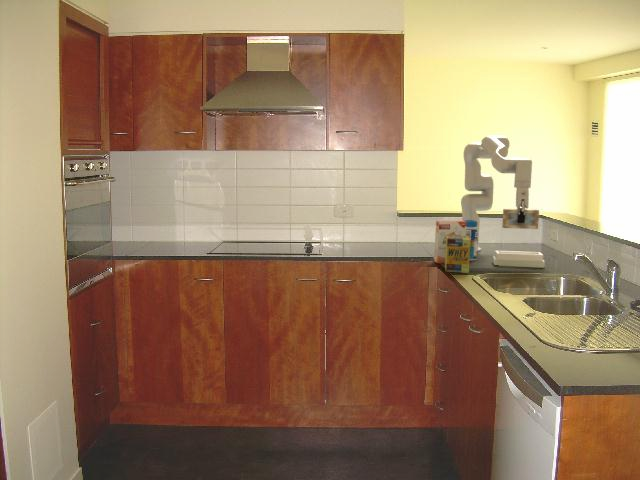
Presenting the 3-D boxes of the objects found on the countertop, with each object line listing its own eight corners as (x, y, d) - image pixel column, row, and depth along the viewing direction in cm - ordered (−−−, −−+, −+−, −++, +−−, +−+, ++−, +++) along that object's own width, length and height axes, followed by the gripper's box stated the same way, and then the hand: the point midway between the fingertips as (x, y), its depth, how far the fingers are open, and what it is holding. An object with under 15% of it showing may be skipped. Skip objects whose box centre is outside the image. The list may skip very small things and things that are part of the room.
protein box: (445, 272, 277) (447, 238, 275) (444, 266, 292) (445, 234, 290) (469, 273, 275) (470, 239, 273) (467, 267, 290) (468, 235, 288)
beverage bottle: (457, 258, 314) (458, 220, 311) (470, 257, 317) (472, 219, 314) (466, 261, 306) (468, 221, 303) (480, 260, 309) (482, 221, 306)
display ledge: (494, 265, 295) (495, 253, 294) (492, 262, 304) (493, 250, 303) (544, 267, 290) (545, 255, 289) (540, 264, 300) (541, 252, 299)
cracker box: (437, 263, 298) (438, 221, 295) (433, 261, 304) (435, 220, 301) (465, 263, 299) (466, 221, 296) (460, 261, 305) (462, 220, 302)
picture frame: (504, 228, 293) (505, 209, 292) (502, 227, 298) (503, 208, 296) (538, 228, 292) (539, 210, 291) (535, 227, 296) (536, 209, 295)
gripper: (533, 185, 283) (530, 224, 285) (528, 183, 299) (525, 220, 302) (516, 185, 284) (514, 224, 287) (512, 183, 301) (510, 220, 303)
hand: (520, 221), depth 294 cm, fingers closed on picture frame, 4 cm apart
